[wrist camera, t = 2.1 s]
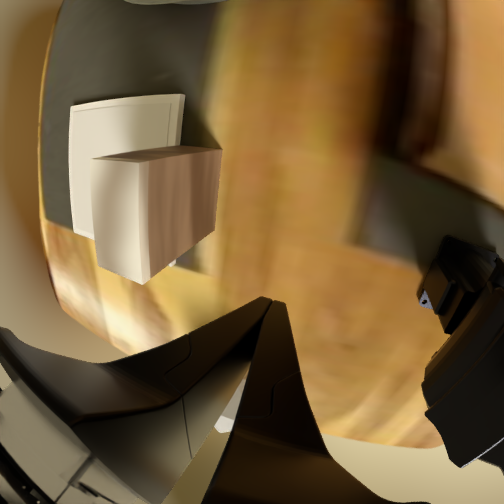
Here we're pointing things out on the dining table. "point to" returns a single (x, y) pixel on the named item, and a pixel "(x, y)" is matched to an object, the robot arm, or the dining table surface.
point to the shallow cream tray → (116, 140)
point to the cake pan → (173, 1)
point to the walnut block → (152, 206)
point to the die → (231, 409)
